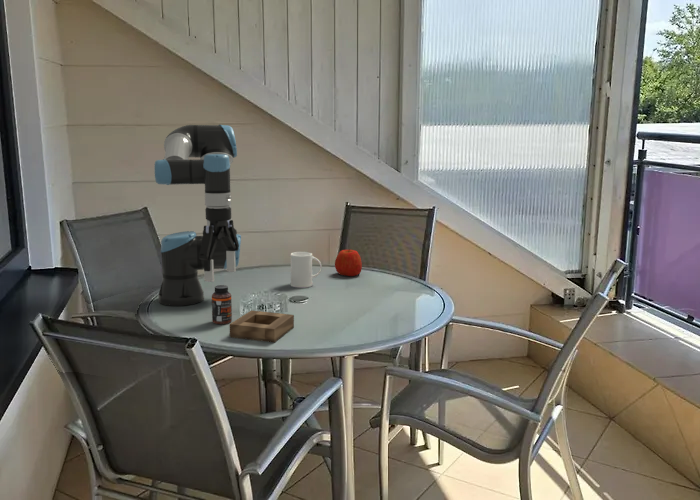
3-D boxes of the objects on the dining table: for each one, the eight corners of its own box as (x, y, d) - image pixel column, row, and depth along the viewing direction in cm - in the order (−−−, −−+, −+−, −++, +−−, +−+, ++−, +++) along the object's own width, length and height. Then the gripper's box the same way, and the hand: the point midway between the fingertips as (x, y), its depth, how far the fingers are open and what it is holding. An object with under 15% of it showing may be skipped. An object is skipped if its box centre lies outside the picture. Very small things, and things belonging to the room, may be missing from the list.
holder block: (229, 337, 186) (229, 324, 185) (251, 322, 199) (251, 310, 198) (274, 342, 181) (274, 329, 181) (293, 327, 195) (293, 314, 194)
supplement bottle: (222, 326, 195) (221, 290, 193) (208, 322, 199) (206, 287, 196) (236, 321, 200) (235, 285, 198) (221, 317, 204) (220, 283, 201)
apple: (332, 277, 256) (332, 251, 254) (337, 271, 266) (337, 245, 264) (359, 278, 254) (359, 252, 252) (363, 272, 264) (363, 246, 262)
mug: (322, 282, 248) (322, 251, 246) (321, 288, 240) (320, 256, 237) (291, 282, 248) (291, 251, 246) (289, 287, 240) (288, 256, 237)
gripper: (208, 212, 179) (210, 286, 183) (248, 202, 203) (250, 268, 207) (184, 211, 182) (187, 284, 186) (227, 201, 205) (229, 266, 209)
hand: (220, 276), depth 196 cm, fingers open, 13 cm apart
